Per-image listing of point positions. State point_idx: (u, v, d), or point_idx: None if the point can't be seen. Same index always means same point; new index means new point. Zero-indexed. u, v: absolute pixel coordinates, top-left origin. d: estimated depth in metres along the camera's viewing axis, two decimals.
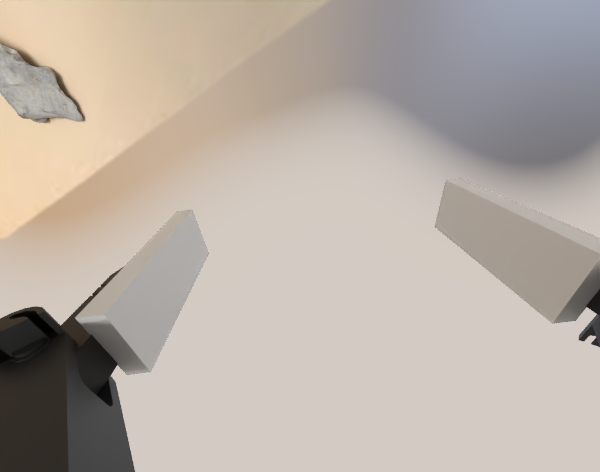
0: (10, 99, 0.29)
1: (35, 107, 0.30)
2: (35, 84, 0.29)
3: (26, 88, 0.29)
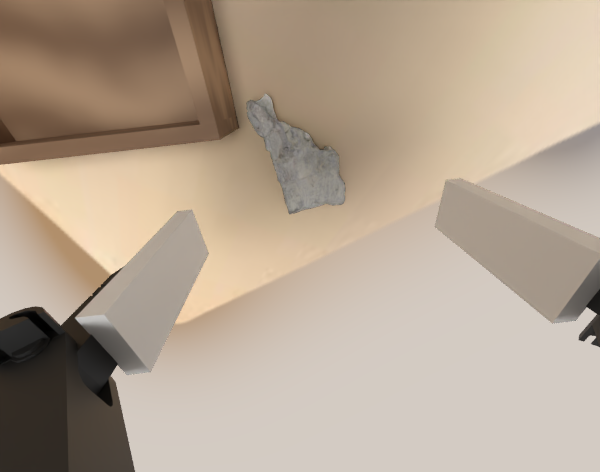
0: (289, 196, 0.22)
1: (309, 200, 0.23)
2: (319, 172, 0.21)
3: (309, 179, 0.21)
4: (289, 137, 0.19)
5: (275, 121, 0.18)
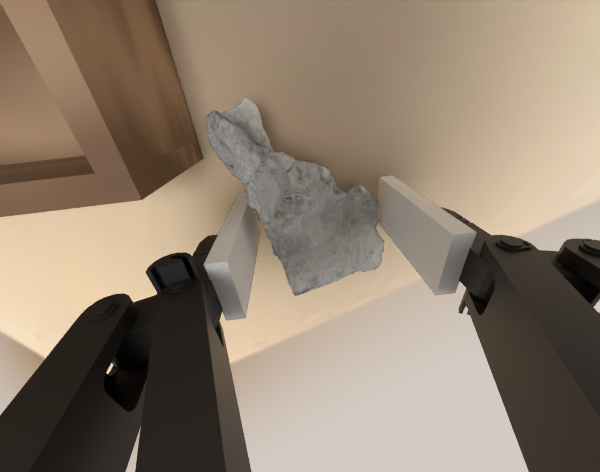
0: (295, 273, 0.12)
1: (328, 273, 0.13)
2: (345, 231, 0.12)
3: (329, 244, 0.12)
4: (294, 179, 0.10)
5: (265, 152, 0.09)
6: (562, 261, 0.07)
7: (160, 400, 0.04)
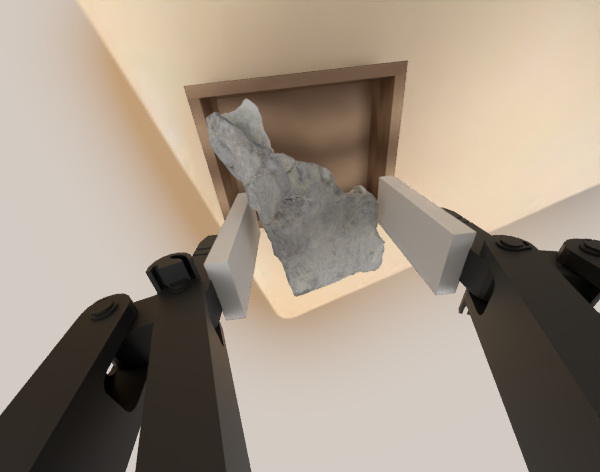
0: (295, 274, 0.12)
1: (328, 274, 0.13)
2: (346, 232, 0.12)
3: (329, 245, 0.12)
4: (294, 180, 0.10)
5: (266, 154, 0.09)
6: (562, 261, 0.07)
7: (160, 400, 0.04)
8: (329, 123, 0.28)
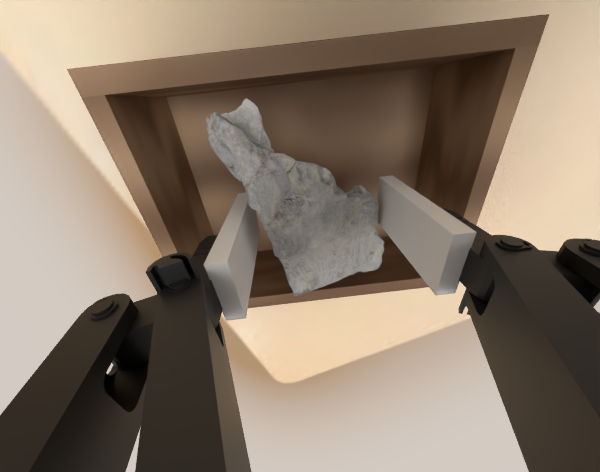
0: (295, 274, 0.12)
1: (328, 274, 0.13)
2: (346, 232, 0.12)
3: (329, 245, 0.12)
4: (294, 180, 0.10)
5: (266, 153, 0.09)
6: (562, 261, 0.07)
7: (160, 400, 0.04)
8: (357, 137, 0.17)
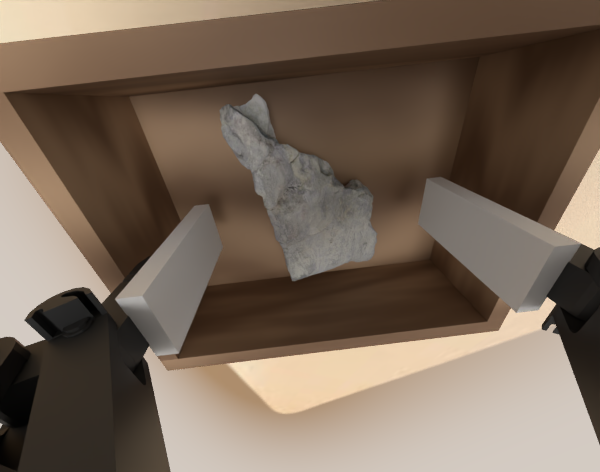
0: (294, 259, 0.13)
1: (324, 261, 0.14)
2: (342, 222, 0.13)
3: (326, 233, 0.13)
4: (297, 170, 0.11)
5: (272, 144, 0.10)
6: None
7: None
8: (375, 147, 0.14)
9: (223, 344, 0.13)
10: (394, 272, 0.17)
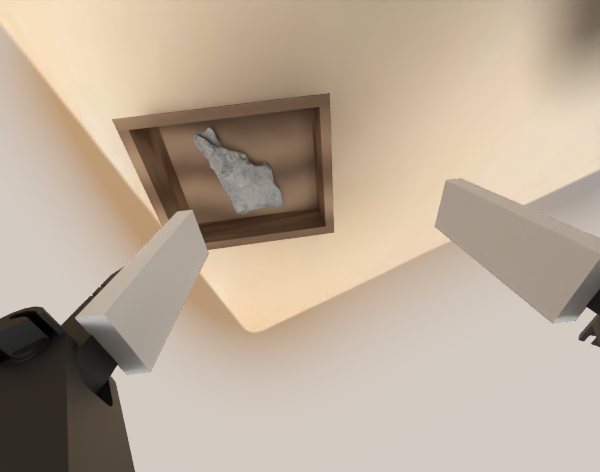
0: (235, 201, 0.28)
1: (252, 203, 0.29)
2: (257, 182, 0.28)
3: (249, 188, 0.28)
4: (228, 158, 0.26)
5: (215, 147, 0.25)
6: None
7: None
8: (273, 146, 0.28)
9: None
10: (296, 213, 0.32)
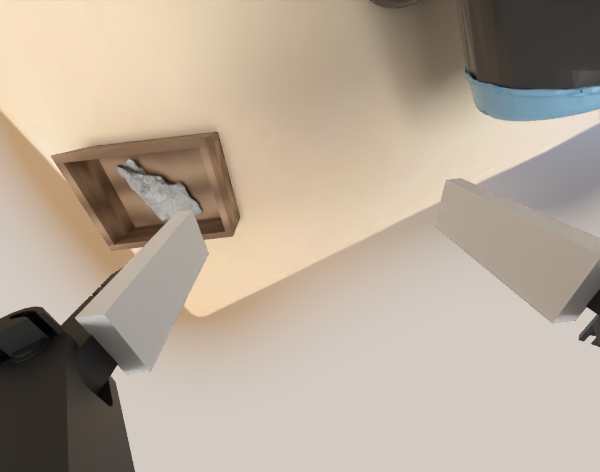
0: (157, 212, 0.37)
1: (172, 213, 0.38)
2: (173, 197, 0.37)
3: (167, 201, 0.37)
4: (145, 180, 0.35)
5: (132, 174, 0.33)
6: None
7: None
8: (187, 169, 0.37)
9: (131, 241, 0.37)
10: (213, 220, 0.41)
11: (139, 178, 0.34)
